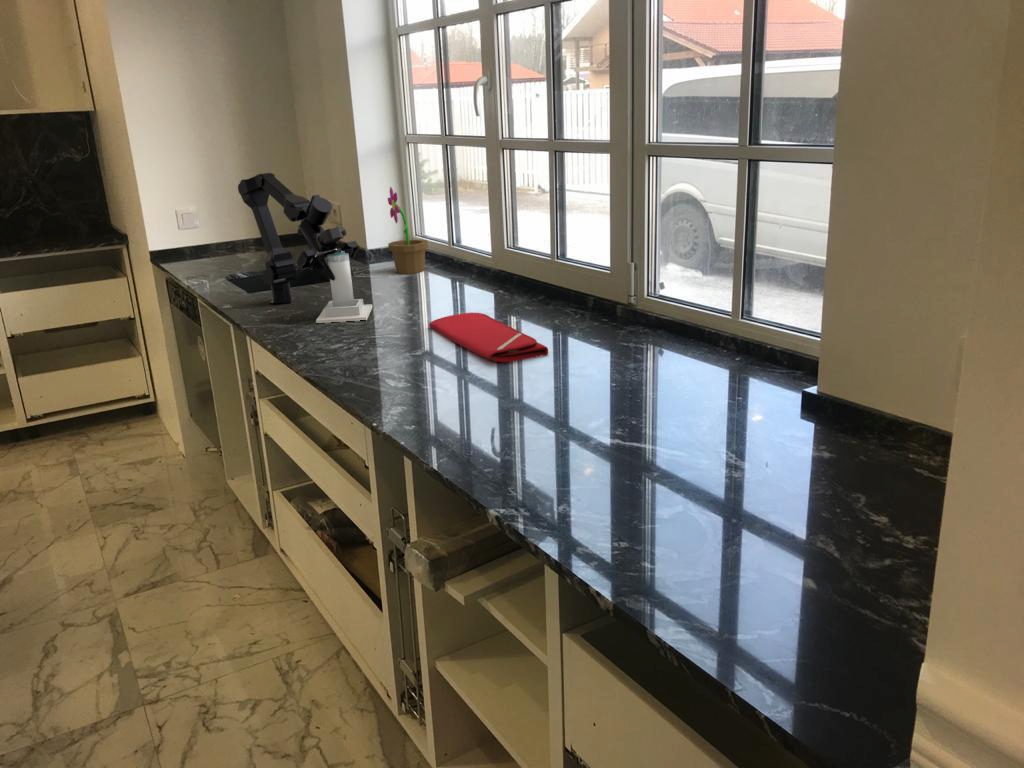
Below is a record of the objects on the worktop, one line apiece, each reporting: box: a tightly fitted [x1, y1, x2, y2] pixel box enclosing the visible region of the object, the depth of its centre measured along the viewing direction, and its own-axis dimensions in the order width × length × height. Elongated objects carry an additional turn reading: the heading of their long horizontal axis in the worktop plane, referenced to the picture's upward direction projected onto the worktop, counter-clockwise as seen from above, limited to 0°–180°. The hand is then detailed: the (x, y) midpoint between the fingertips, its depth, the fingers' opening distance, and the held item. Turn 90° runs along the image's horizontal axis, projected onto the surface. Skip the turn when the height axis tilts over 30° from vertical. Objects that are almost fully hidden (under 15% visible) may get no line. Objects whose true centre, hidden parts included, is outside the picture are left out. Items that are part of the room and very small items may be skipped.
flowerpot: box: [387, 186, 429, 275], centre depth 300 cm, size 14×14×30 cm
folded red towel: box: [428, 312, 549, 363], centre depth 213 cm, size 16×41×4 cm, turn 25°
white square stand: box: [315, 298, 373, 324], centre depth 245 cm, size 16×14×4 cm
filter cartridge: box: [327, 253, 355, 302], centre depth 242 cm, size 6×6×13 cm
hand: (343, 277), depth 241 cm, fingers closed on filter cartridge, 6 cm apart
